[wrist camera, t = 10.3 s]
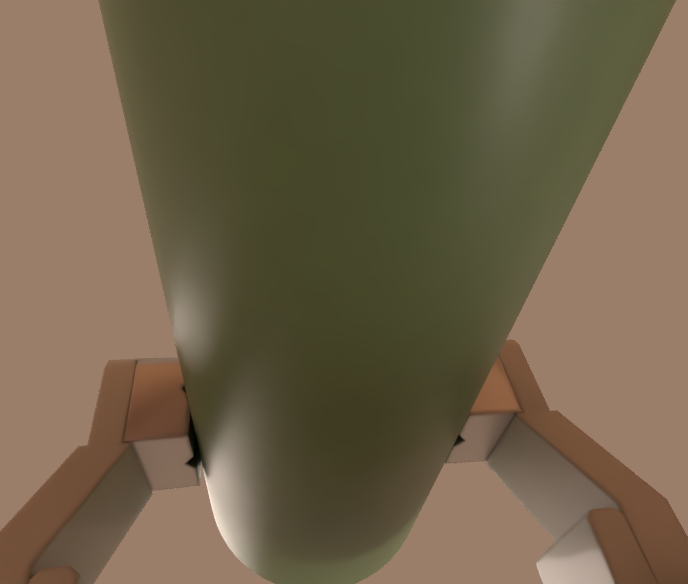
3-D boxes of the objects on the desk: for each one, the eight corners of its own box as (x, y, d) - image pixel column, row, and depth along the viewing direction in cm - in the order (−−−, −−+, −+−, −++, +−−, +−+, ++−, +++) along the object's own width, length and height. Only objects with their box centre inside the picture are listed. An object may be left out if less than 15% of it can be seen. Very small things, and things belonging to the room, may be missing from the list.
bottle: (-252, -795, 1) (229, 654, 12) (1148, -388, 2) (415, 609, 13) (58, -414, 4) (217, 468, 15) (570, -322, 5) (369, 443, 16)
